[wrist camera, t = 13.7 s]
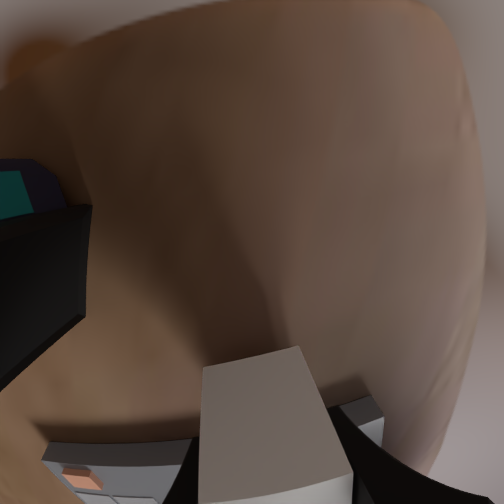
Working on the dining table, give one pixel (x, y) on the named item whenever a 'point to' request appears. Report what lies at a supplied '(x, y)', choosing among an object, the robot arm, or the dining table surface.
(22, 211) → the speaker
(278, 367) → the plug
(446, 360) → the dining table surface
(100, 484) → the power strip
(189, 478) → the robot arm
